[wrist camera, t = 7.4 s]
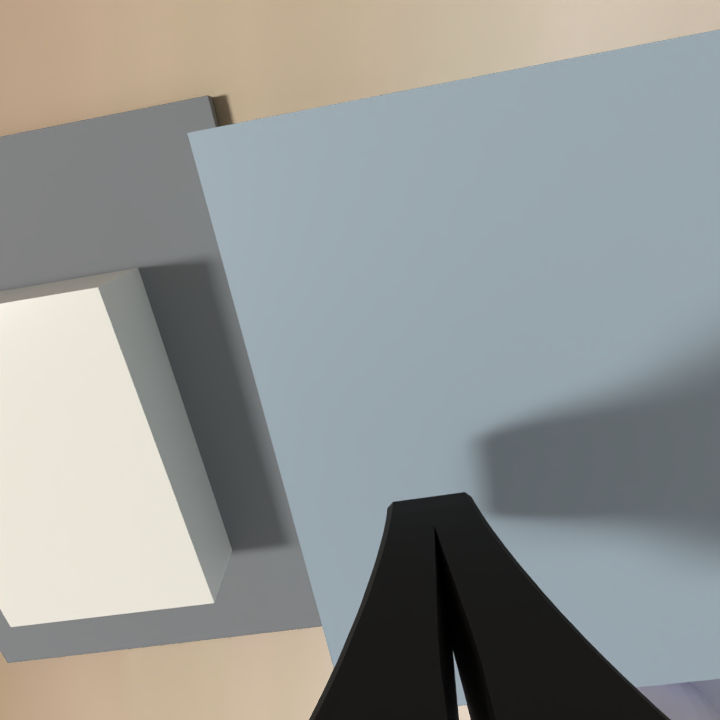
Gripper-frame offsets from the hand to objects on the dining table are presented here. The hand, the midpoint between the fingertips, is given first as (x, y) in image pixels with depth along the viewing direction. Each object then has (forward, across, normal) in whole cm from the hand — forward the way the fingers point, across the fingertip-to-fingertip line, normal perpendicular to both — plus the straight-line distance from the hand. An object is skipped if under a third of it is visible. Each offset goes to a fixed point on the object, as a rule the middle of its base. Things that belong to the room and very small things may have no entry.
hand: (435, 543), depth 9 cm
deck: (+6, -3, 0) cm, 6 cm away
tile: (+3, +9, 0) cm, 10 cm away
